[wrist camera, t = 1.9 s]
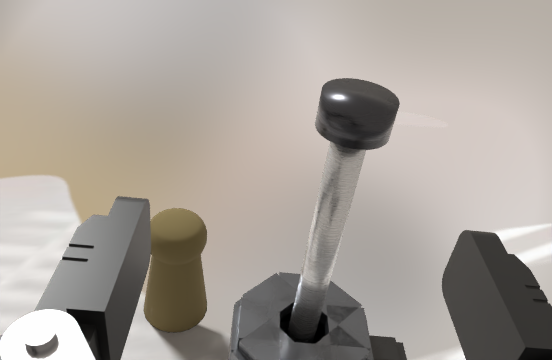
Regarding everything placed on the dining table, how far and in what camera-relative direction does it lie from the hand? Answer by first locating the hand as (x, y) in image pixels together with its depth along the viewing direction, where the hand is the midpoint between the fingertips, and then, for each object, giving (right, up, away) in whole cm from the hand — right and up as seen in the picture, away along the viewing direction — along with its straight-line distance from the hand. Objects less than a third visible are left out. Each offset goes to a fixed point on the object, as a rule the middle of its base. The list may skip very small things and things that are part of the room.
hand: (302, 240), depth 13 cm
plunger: (+1, -11, +22) cm, 25 cm away
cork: (-10, -11, +35) cm, 39 cm away
